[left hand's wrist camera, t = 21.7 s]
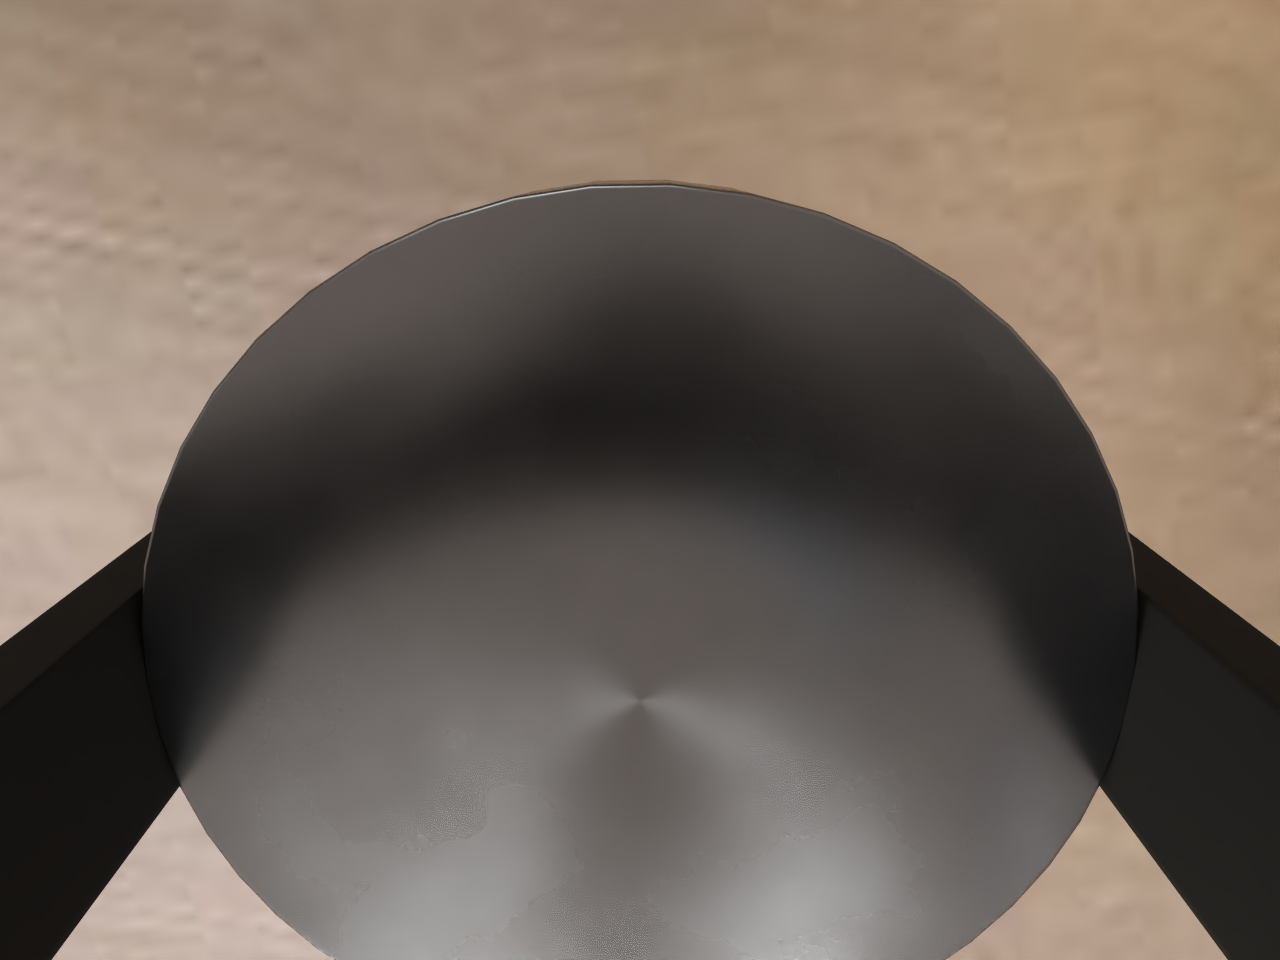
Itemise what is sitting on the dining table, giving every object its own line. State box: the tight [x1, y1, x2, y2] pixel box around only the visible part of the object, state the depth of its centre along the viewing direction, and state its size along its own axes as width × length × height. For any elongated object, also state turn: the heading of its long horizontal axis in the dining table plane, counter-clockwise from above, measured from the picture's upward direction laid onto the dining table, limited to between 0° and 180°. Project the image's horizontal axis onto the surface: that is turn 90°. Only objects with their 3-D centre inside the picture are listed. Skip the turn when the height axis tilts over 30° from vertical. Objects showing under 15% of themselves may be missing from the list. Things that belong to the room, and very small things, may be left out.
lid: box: [141, 180, 1139, 960], centre depth 11 cm, size 12×12×2 cm
